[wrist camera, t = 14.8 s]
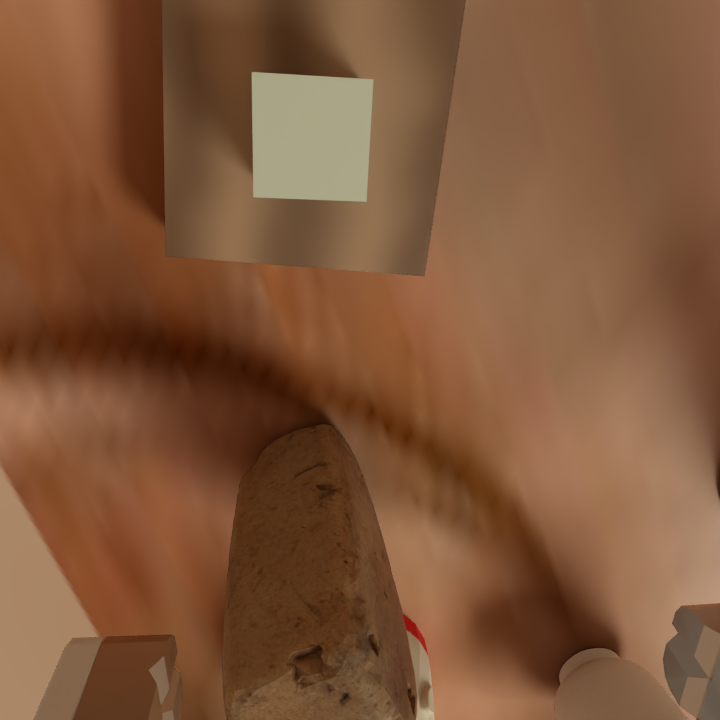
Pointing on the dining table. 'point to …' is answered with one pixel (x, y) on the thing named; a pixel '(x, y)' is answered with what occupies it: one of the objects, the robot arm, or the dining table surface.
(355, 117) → the sage cube
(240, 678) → the block
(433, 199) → the walnut base block
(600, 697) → the teacup
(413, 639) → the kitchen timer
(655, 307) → the dining table surface
